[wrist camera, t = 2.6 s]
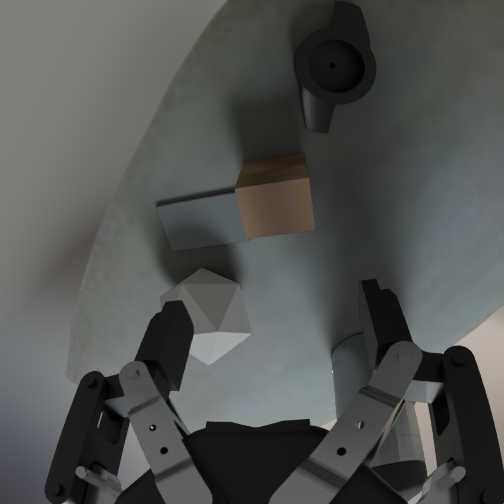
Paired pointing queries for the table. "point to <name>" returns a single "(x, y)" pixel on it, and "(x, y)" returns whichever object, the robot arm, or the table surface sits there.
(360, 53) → the black round bracket
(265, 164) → the brown rectangular block
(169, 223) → the pad
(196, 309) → the die
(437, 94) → the table surface
